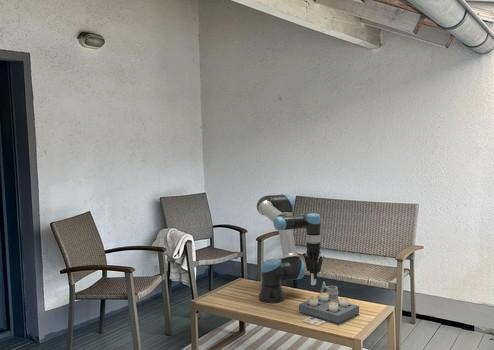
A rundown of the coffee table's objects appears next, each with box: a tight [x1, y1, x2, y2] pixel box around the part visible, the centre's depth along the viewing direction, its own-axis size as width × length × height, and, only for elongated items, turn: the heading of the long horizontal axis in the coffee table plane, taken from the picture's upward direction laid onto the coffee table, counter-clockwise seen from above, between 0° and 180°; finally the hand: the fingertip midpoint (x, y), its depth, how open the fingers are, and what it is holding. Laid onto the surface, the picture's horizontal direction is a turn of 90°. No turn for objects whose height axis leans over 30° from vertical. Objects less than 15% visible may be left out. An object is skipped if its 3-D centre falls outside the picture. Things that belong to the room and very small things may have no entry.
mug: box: [319, 281, 339, 300], centre depth 283 cm, size 8×12×12 cm, turn 48°
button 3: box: [329, 302, 338, 313], centre depth 257 cm, size 5×5×5 cm
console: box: [298, 295, 360, 326], centre depth 265 cm, size 26×20×5 cm
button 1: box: [308, 296, 318, 307], centre depth 266 cm, size 5×5×5 cm
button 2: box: [319, 292, 328, 303], centre depth 273 cm, size 5×5×5 cm
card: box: [301, 316, 327, 327], centre depth 254 cm, size 10×7×1 cm
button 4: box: [338, 297, 349, 308], centre depth 264 cm, size 5×5×5 cm
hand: (313, 284), depth 265 cm, fingers closed
